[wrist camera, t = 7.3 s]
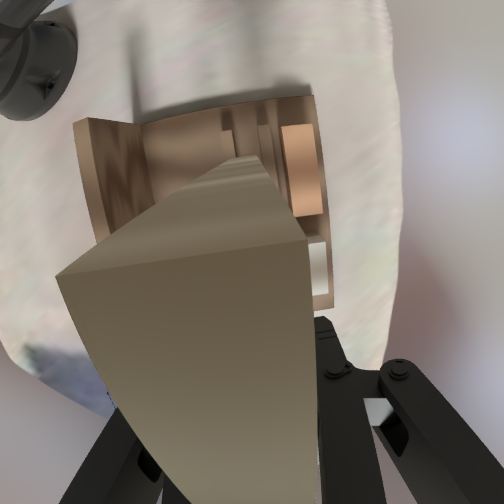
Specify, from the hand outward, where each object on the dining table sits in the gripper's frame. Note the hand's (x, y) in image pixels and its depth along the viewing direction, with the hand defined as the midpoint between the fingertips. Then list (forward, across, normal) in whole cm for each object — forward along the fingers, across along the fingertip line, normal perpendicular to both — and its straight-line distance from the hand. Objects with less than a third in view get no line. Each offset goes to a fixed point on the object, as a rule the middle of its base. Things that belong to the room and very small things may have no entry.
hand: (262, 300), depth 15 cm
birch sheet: (+6, 0, 0) cm, 6 cm away
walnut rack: (+21, -2, 0) cm, 21 cm away
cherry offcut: (+20, +5, +5) cm, 21 cm away
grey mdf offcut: (+19, +5, -6) cm, 21 cm away
